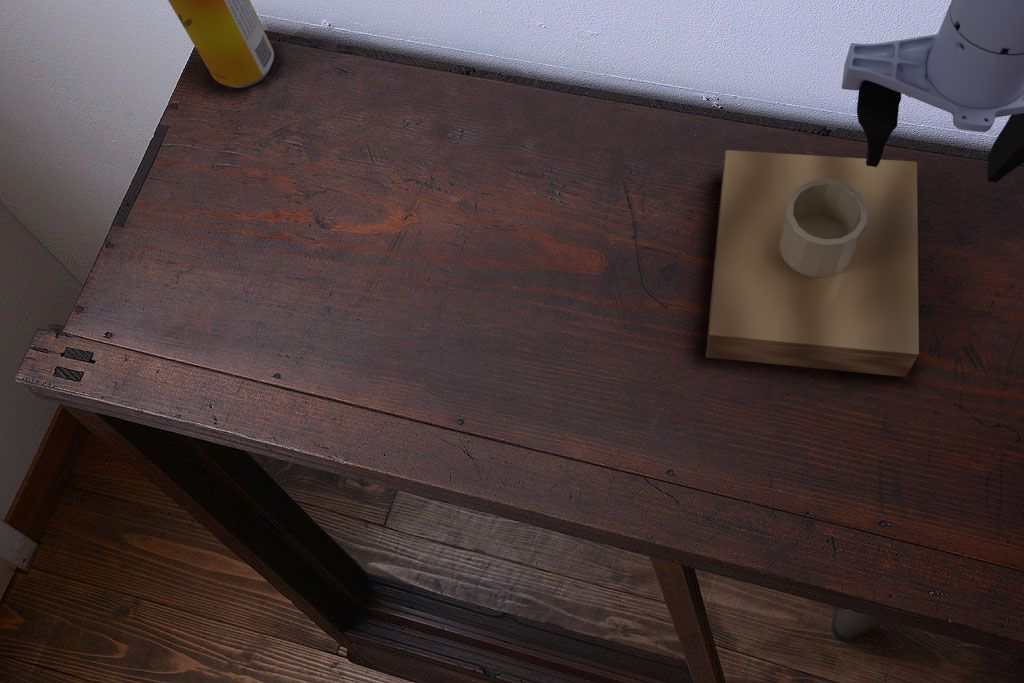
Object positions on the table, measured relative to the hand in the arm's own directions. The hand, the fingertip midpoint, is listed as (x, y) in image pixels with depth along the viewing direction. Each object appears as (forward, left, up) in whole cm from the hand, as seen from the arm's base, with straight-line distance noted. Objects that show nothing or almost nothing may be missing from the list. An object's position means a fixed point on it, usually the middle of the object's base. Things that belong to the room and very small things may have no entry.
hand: (932, 161), depth 65 cm
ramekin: (+6, +3, -6) cm, 9 cm away
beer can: (+57, -14, -10) cm, 60 cm away
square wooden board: (+6, +3, -10) cm, 12 cm away
